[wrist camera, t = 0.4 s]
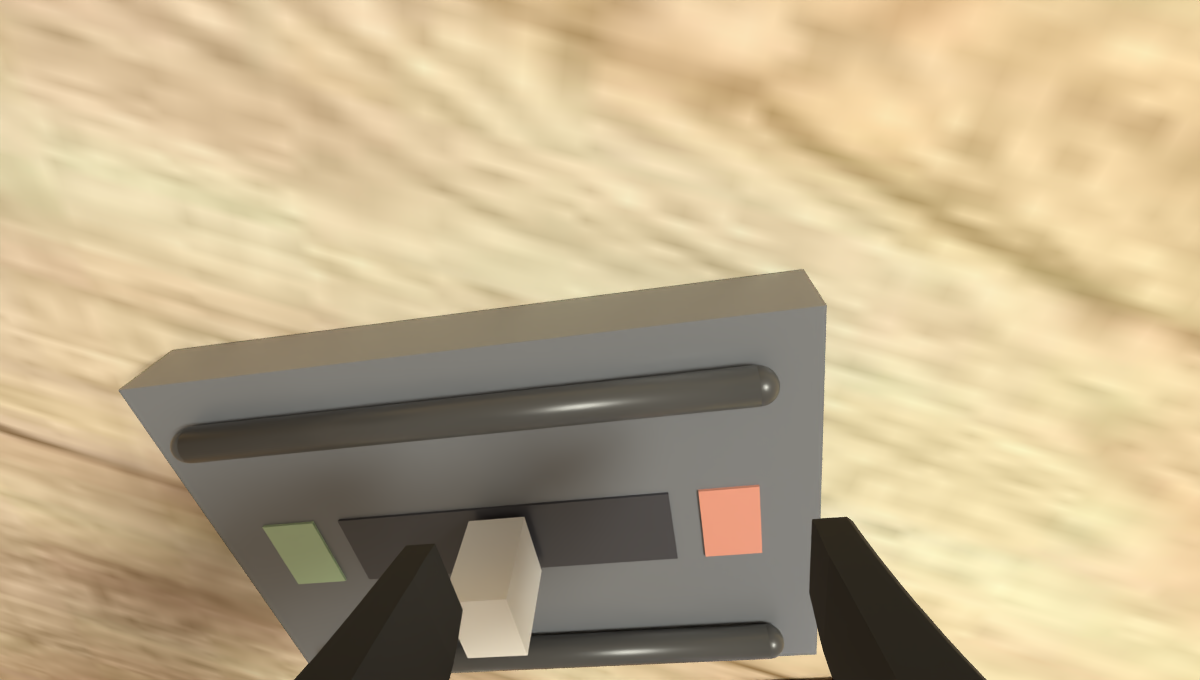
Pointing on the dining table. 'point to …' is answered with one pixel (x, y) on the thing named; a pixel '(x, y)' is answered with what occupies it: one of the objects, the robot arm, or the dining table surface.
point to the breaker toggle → (496, 587)
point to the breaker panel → (527, 463)
